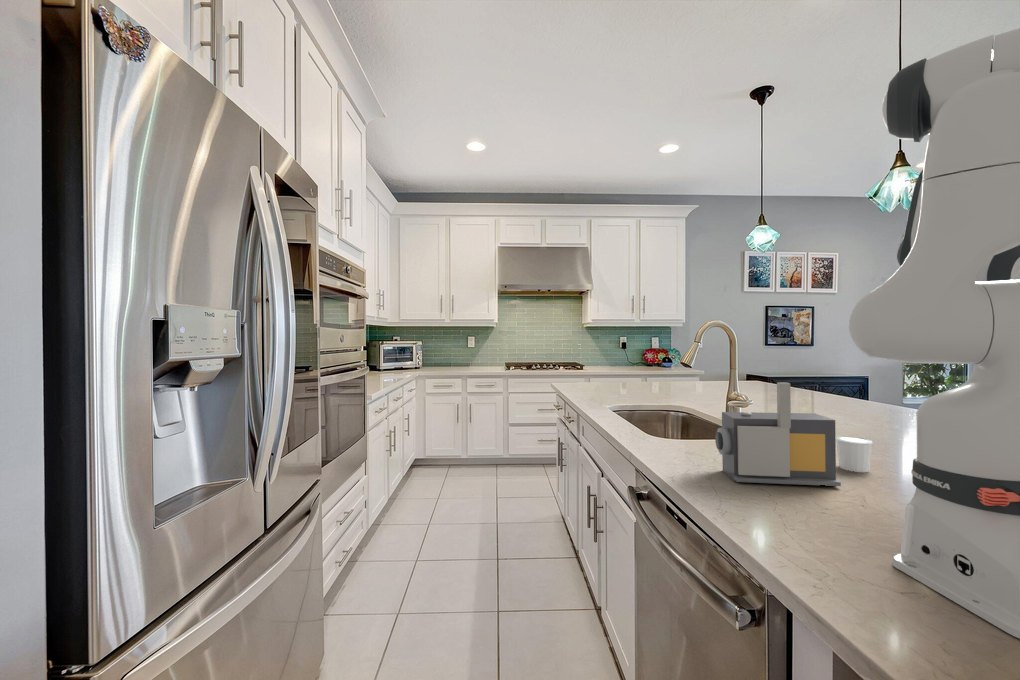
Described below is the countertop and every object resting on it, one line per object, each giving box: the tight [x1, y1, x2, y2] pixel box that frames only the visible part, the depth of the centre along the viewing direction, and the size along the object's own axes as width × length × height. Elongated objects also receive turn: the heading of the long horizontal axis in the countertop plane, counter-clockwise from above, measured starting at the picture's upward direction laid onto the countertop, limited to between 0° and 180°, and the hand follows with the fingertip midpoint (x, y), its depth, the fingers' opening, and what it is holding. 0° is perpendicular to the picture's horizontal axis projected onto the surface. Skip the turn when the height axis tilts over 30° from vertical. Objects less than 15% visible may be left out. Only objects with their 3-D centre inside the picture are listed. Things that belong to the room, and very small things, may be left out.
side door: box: [737, 382, 792, 477], centre depth 90 cm, size 1×10×20 cm, turn 80°
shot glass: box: [835, 436, 873, 473], centre depth 100 cm, size 7×7×7 cm
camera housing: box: [714, 411, 842, 487], centre depth 94 cm, size 10×22×15 cm, turn 80°
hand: (885, 350), depth 82 cm, fingers closed
